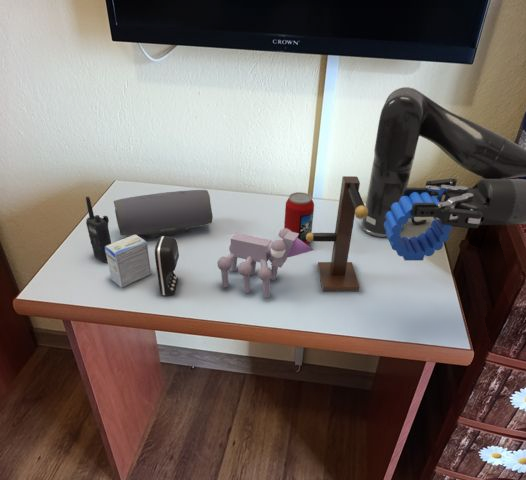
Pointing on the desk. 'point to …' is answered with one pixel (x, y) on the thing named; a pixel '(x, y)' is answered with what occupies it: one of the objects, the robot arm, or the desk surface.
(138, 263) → the medicine box
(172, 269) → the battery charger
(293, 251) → the toy sheep
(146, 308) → the desk surface
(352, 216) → the hook stand
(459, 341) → the desk surface
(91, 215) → the two-way radio
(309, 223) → the beverage can
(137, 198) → the bluetooth speaker
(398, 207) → the ridged ring
